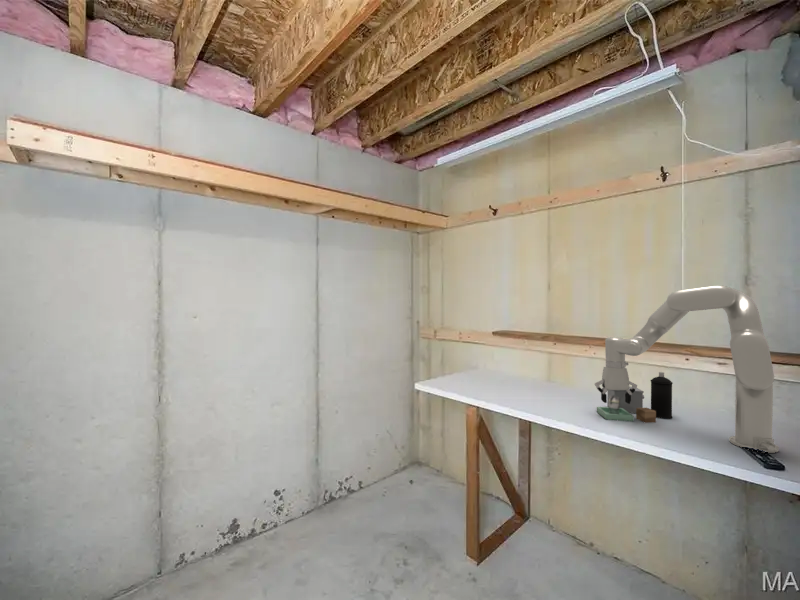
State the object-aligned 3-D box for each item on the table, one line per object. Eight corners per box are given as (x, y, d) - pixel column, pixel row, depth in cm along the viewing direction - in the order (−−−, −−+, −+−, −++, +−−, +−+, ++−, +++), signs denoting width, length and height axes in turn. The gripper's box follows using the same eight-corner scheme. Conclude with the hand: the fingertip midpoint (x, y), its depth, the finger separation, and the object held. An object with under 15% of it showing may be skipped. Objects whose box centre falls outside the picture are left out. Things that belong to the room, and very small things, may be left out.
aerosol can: (676, 419, 154) (676, 374, 154) (655, 418, 156) (656, 373, 156) (666, 413, 162) (666, 371, 162) (646, 412, 164) (646, 370, 164)
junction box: (647, 414, 161) (648, 391, 161) (613, 412, 164) (614, 389, 164) (638, 408, 170) (638, 386, 170) (606, 406, 172) (606, 385, 172)
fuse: (621, 417, 156) (621, 397, 156) (611, 416, 156) (611, 397, 156) (617, 413, 160) (617, 395, 160) (607, 413, 161) (607, 394, 160)
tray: (633, 421, 152) (633, 415, 152) (606, 419, 154) (606, 414, 154) (622, 413, 163) (622, 408, 163) (596, 411, 164) (596, 406, 164)
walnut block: (655, 422, 151) (656, 411, 151) (645, 423, 150) (645, 411, 150) (646, 418, 156) (646, 407, 156) (636, 418, 155) (636, 407, 155)
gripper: (632, 363, 160) (633, 401, 160) (591, 363, 163) (592, 399, 163) (640, 366, 153) (641, 405, 152) (597, 365, 156) (598, 404, 156)
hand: (616, 402), depth 158 cm, fingers open, 9 cm apart
